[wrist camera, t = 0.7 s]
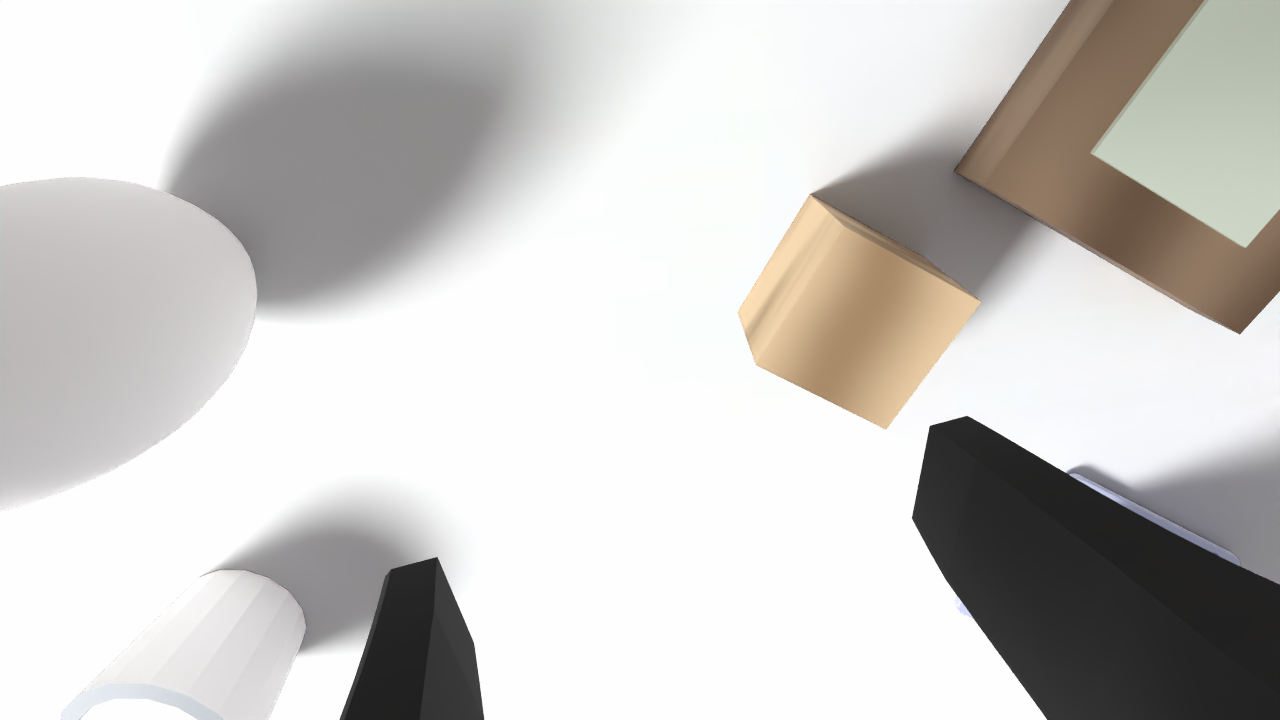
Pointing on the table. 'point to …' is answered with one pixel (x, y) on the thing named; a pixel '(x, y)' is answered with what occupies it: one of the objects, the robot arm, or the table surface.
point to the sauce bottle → (108, 326)
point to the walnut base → (1152, 145)
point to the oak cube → (851, 313)
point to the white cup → (203, 656)
